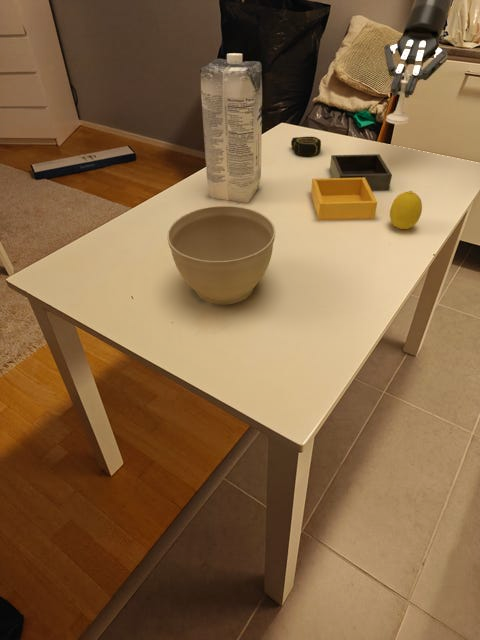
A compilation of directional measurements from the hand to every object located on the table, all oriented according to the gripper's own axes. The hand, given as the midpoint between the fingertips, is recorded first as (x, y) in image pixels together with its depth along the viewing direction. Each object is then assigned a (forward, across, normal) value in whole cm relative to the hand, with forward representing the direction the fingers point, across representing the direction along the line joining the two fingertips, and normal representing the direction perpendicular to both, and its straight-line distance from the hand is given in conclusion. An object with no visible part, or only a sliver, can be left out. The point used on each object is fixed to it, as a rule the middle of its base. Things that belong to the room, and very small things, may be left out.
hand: (400, 94), depth 97 cm
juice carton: (+31, -26, -7) cm, 41 cm away
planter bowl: (+52, -11, -28) cm, 60 cm away
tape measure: (+11, -21, +13) cm, 27 cm away
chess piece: (+3, 0, +6) cm, 6 cm away
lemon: (+29, +10, -5) cm, 31 cm away
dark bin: (+18, -4, +6) cm, 19 cm away
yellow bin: (+27, -3, -3) cm, 28 cm away
